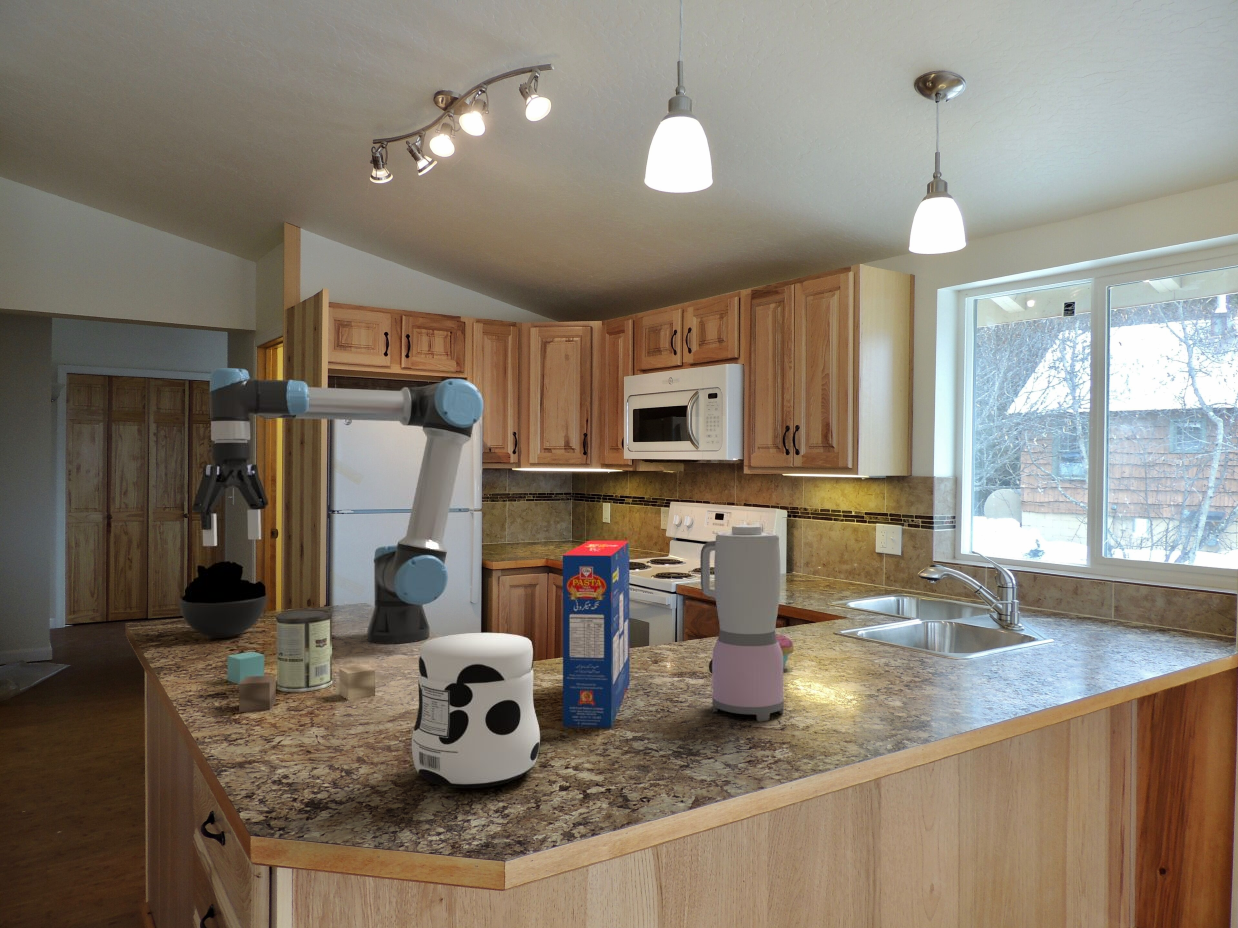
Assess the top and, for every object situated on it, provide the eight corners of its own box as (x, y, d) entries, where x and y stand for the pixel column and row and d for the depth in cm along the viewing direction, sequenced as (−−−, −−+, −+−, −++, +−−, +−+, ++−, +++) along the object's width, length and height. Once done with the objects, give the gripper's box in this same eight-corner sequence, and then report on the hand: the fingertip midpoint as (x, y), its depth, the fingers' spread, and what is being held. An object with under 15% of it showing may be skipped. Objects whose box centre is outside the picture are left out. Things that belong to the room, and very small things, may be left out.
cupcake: (748, 670, 172) (748, 612, 172) (757, 661, 180) (757, 606, 180) (790, 674, 169) (789, 615, 169) (797, 664, 177) (797, 608, 177)
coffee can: (292, 678, 166) (292, 608, 166) (341, 679, 165) (341, 608, 165) (265, 691, 156) (265, 617, 156) (317, 693, 155) (317, 618, 155)
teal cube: (251, 675, 169) (251, 651, 169) (264, 679, 165) (264, 654, 166) (227, 680, 165) (227, 655, 165) (239, 684, 162) (239, 659, 162)
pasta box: (589, 682, 163) (589, 540, 163) (629, 683, 162) (629, 540, 162) (562, 725, 135) (562, 555, 135) (611, 727, 134) (611, 555, 134)
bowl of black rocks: (255, 626, 222) (255, 556, 222) (277, 638, 206) (277, 562, 206) (171, 635, 209) (171, 561, 209) (188, 649, 193) (188, 568, 194)
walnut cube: (275, 702, 149) (275, 675, 149) (269, 710, 144) (269, 682, 144) (245, 704, 148) (245, 676, 148) (239, 712, 143) (239, 683, 143)
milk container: (543, 752, 122) (543, 630, 122) (535, 798, 105) (535, 656, 105) (425, 753, 122) (425, 631, 122) (398, 800, 104) (398, 658, 105)
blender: (797, 709, 144) (796, 525, 144) (762, 726, 134) (761, 529, 134) (720, 694, 154) (719, 522, 154) (682, 708, 144) (682, 525, 144)
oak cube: (365, 690, 157) (365, 664, 157) (375, 696, 153) (375, 669, 153) (339, 695, 154) (339, 668, 154) (348, 700, 150) (348, 673, 150)
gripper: (254, 443, 187) (256, 536, 188) (170, 441, 163) (173, 548, 163) (283, 442, 186) (285, 536, 186) (202, 440, 161) (205, 548, 162)
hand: (233, 542), depth 175 cm, fingers open, 13 cm apart
